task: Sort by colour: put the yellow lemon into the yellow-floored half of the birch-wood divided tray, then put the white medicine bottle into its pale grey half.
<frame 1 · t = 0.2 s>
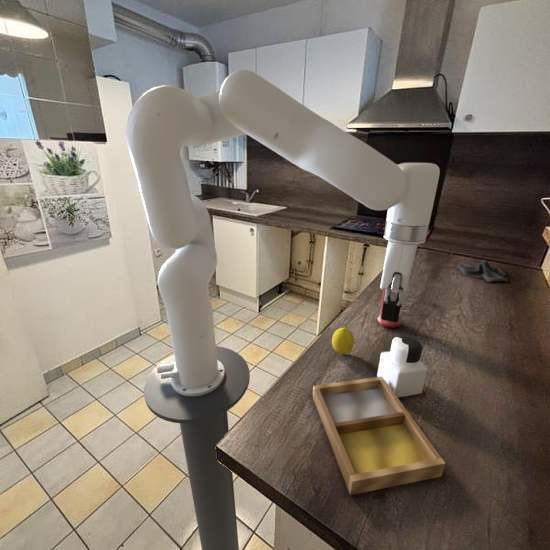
hand: (391, 309, 62), 18 cm above the worktop, tool pointing down, fingers open, 9 cm apart
lemon: (341, 354, 77), on the worktop
medicine bottle: (398, 385, 67), on the worktop
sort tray: (367, 431, 56), on the worktop
liquor: (388, 324, 91), on the worktop
cloth: (483, 273, 129), on the worktop
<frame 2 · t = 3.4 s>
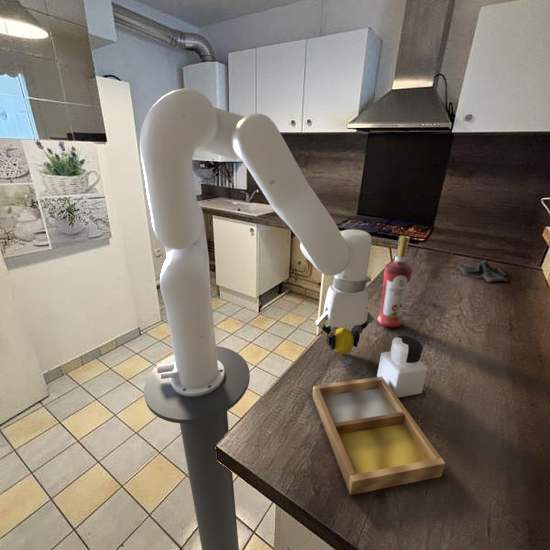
hand: (342, 344, 76), 3 cm above the worktop, tool pointing down, fingers closed on lemon, 5 cm apart
lemon: (341, 354, 77), on the worktop, touching gripper
everything else where it was.
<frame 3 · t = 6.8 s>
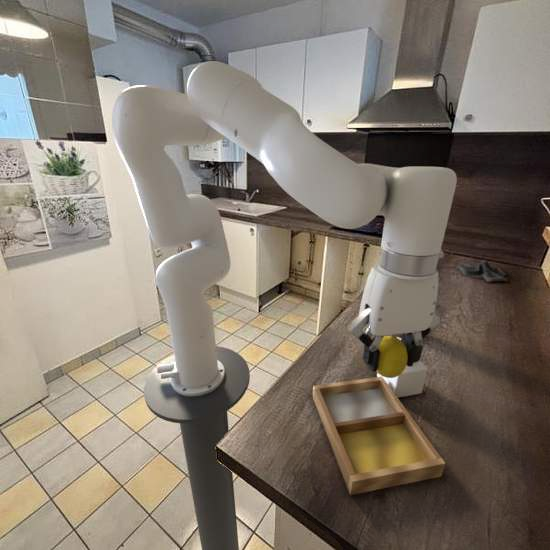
hand: (387, 362, 48), 17 cm above the worktop, tool pointing down, fingers closed on lemon, 5 cm apart
lemon: (384, 377, 49), point 14 cm above the worktop, touching gripper
everything else where it was.
when the fingers open (4 cm above the worktop, at t = 10.6 s): lemon stays where it is, resting on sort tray.
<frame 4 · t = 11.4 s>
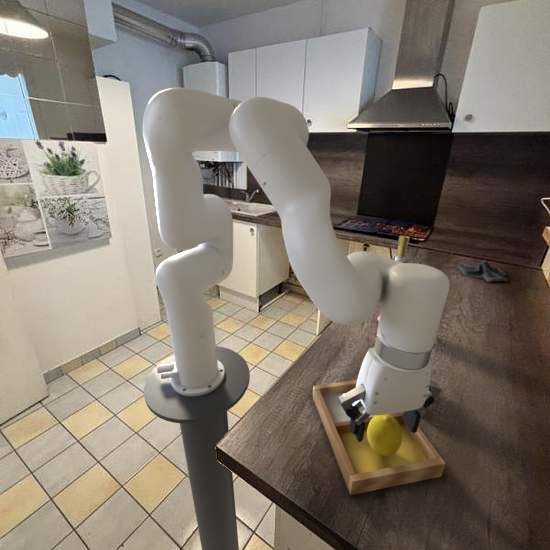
hand: (383, 429, 49), 6 cm above the worktop, tool pointing down, fingers open, 9 cm apart
lemon: (380, 451, 51), point 1 cm above the worktop, touching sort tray
everything else where it was.
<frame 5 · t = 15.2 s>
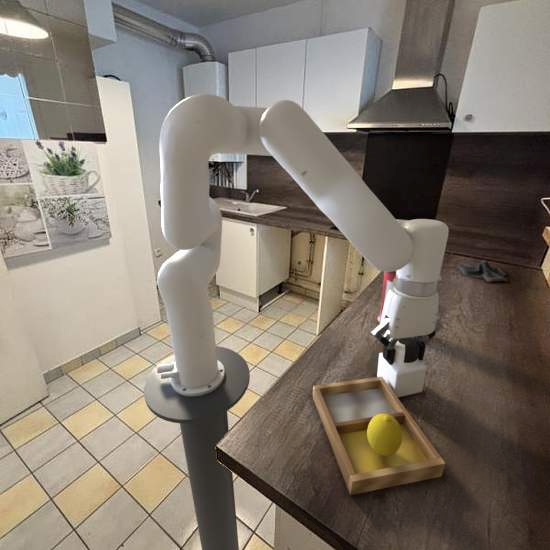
hand: (402, 358, 63), 8 cm above the worktop, tool pointing down, fingers closed on medicine bottle, 6 cm apart
medicine bottle: (398, 384, 67), on the worktop, touching gripper
everything else where it was.
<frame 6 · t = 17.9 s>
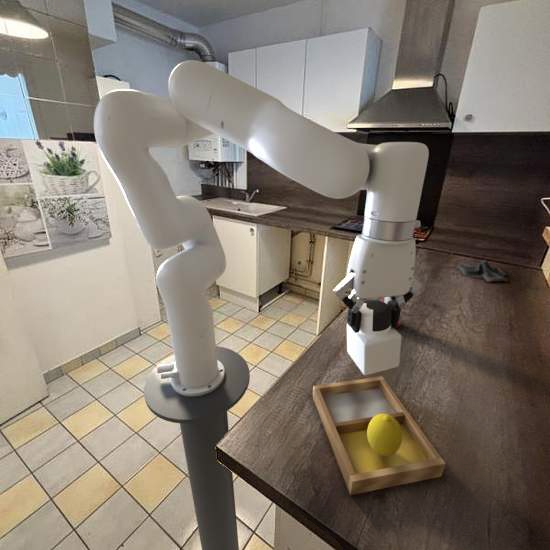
hand: (372, 325, 52), 21 cm above the worktop, tool pointing down, fingers closed on medicine bottle, 6 cm apart
medicine bottle: (372, 360, 56), point 12 cm above the worktop, touching gripper
everything else where it was.
when the fingers open (9 cm above the worktop, at t = 20.8 s): medicine bottle stays where it is, resting on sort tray.
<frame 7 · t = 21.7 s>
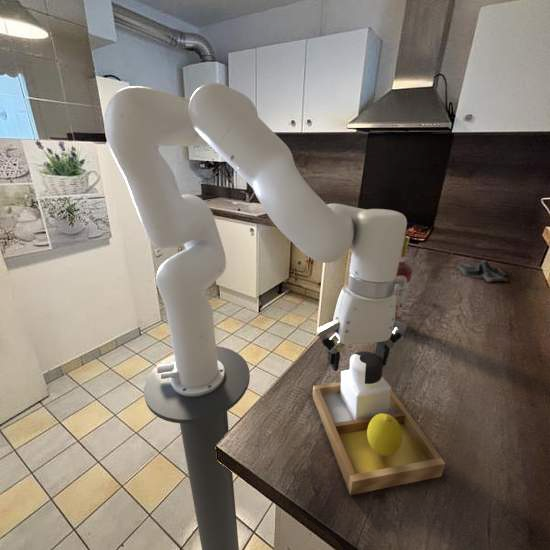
hand: (356, 363, 56), 12 cm above the worktop, tool pointing down, fingers open, 9 cm apart
medicine bottle: (363, 405, 60), point 1 cm above the worktop, touching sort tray
everything else where it was.
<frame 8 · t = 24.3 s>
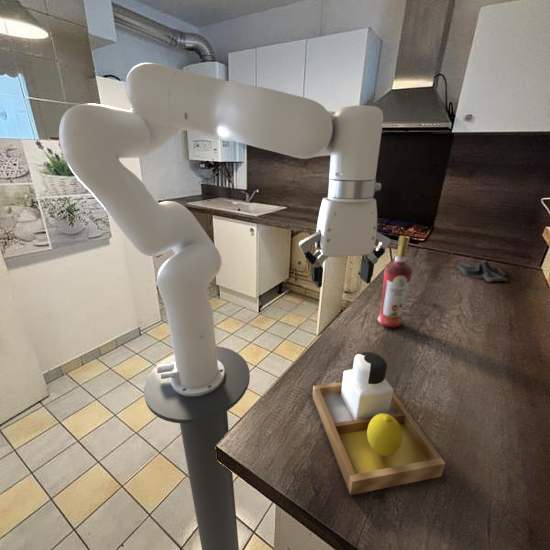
hand: (341, 282, 56), 26 cm above the worktop, tool pointing down, fingers open, 9 cm apart
at the end: lemon inside the target area on the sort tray (0.0 cm from its centre), point 0.8 cm above the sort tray's base; medicine bottle inside the target area on the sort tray (1.3 cm from its centre), point 0.8 cm above the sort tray's base; medicine bottle tilted 0° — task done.
